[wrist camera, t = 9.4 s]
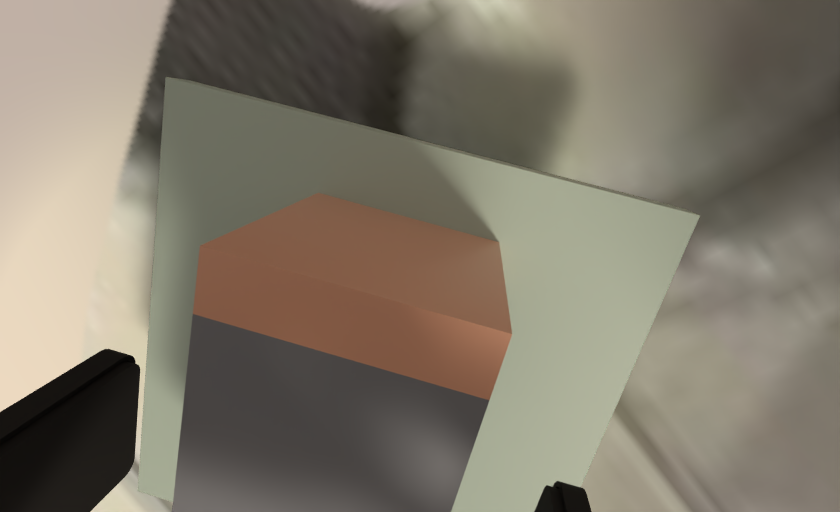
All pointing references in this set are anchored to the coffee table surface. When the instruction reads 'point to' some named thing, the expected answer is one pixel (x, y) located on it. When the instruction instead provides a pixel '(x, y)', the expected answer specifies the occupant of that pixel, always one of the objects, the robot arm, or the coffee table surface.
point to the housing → (338, 362)
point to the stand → (444, 206)
